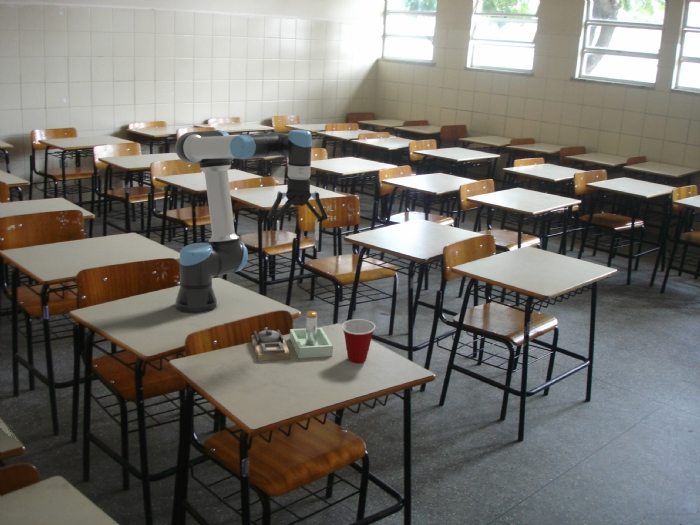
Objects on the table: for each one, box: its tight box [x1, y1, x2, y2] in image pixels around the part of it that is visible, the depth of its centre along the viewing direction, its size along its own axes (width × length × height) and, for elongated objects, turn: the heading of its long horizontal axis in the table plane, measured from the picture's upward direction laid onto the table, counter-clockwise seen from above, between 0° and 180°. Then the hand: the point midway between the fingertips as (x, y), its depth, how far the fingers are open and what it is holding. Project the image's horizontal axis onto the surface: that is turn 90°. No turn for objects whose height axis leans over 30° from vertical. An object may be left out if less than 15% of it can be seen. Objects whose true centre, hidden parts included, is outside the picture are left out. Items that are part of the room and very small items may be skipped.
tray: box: [289, 327, 334, 359], centre depth 235 cm, size 16×11×4 cm
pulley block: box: [251, 329, 291, 362], centre depth 231 cm, size 16×10×5 cm, turn 15°
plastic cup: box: [341, 318, 376, 364], centre depth 226 cm, size 11×11×12 cm
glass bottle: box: [305, 310, 318, 346], centre depth 233 cm, size 4×4×11 cm
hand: (296, 239), depth 240 cm, fingers open, 13 cm apart
